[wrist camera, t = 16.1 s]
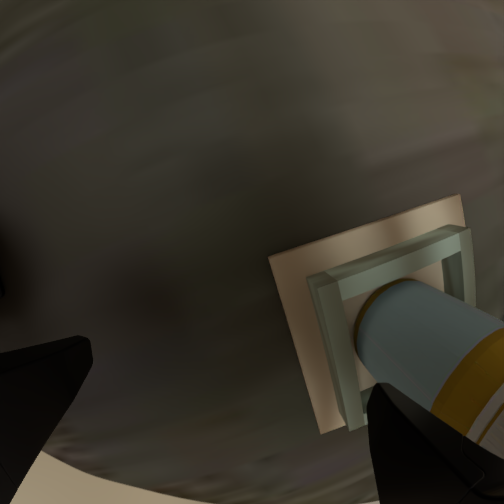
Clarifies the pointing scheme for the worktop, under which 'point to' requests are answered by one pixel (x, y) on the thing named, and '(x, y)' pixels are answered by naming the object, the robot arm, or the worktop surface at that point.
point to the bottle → (437, 356)
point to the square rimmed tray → (364, 295)
